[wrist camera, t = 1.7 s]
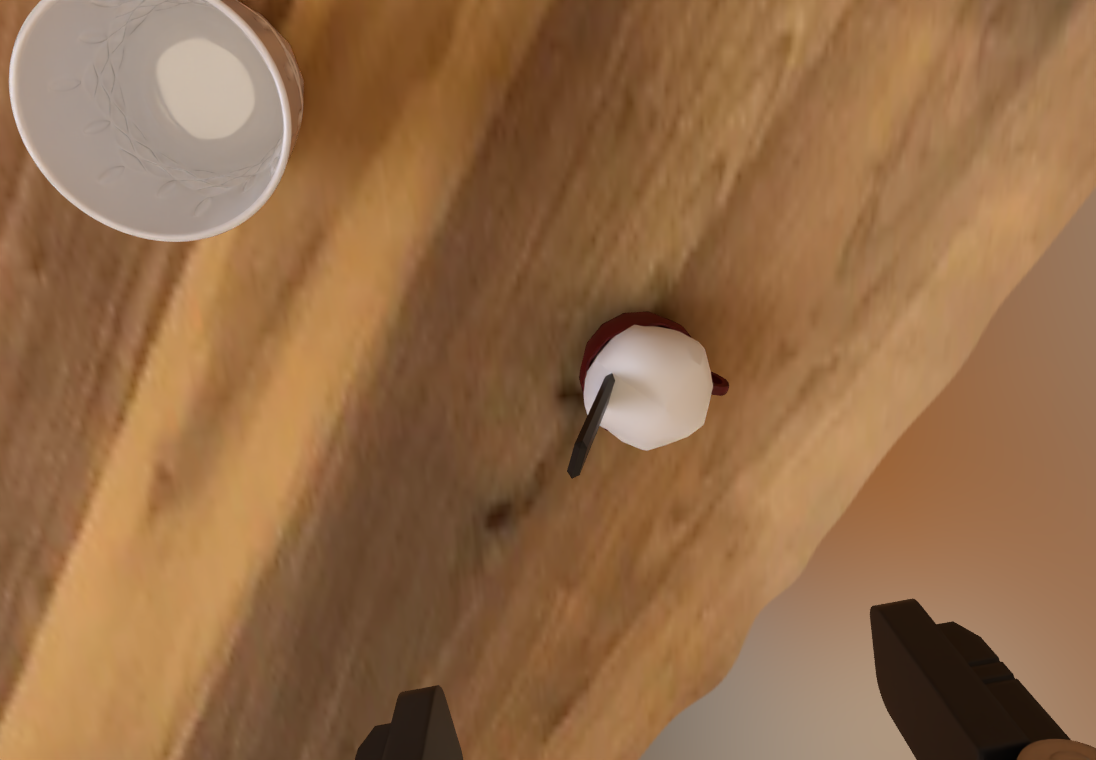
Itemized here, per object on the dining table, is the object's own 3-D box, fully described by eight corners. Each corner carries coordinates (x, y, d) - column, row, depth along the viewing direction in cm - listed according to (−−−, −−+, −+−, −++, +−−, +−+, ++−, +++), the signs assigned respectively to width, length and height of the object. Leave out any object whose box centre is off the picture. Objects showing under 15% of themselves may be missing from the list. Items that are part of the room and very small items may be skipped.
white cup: (114, -41, 30) (-4, -62, 21) (326, 2, 32) (298, 0, 23) (120, 165, 33) (19, 223, 24) (312, 194, 35) (284, 257, 26)
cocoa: (722, 343, 42) (833, 458, 31) (652, 433, 44) (735, 571, 33) (581, 252, 38) (652, 346, 28) (511, 354, 40) (552, 480, 29)
